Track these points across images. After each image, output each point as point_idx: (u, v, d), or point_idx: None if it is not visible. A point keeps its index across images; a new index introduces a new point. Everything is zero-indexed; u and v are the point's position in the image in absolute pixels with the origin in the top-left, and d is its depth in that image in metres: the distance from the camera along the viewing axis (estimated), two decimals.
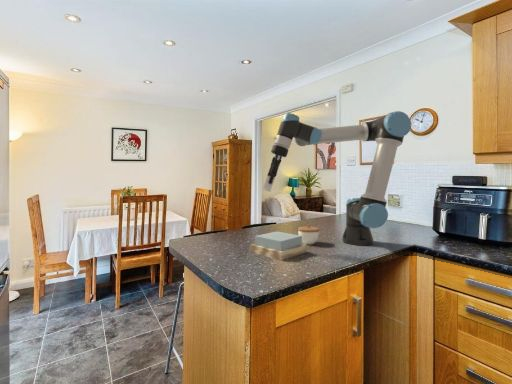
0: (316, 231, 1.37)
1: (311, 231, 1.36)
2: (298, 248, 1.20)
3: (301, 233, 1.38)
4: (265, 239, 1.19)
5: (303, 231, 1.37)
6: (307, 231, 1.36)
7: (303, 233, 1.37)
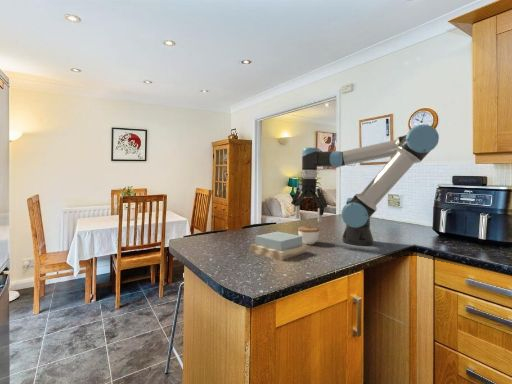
0: (316, 231, 1.37)
1: (311, 231, 1.36)
2: (298, 248, 1.20)
3: (301, 233, 1.38)
4: (265, 239, 1.20)
5: (303, 231, 1.37)
6: (307, 231, 1.36)
7: (303, 233, 1.37)
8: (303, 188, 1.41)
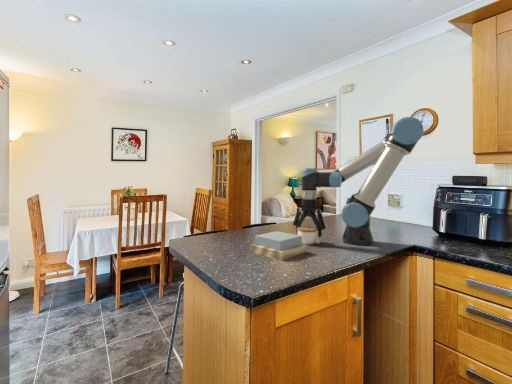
0: None
1: (311, 231, 1.36)
2: (298, 248, 1.20)
3: (301, 233, 1.38)
4: (264, 239, 1.20)
5: (303, 231, 1.37)
6: (307, 231, 1.36)
7: (303, 233, 1.37)
8: (303, 208, 1.41)
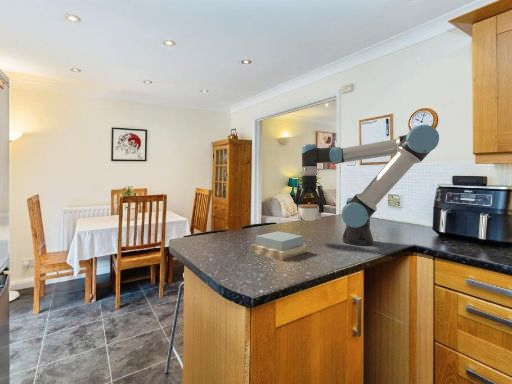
0: None
1: (312, 207, 1.35)
2: (298, 248, 1.20)
3: (302, 210, 1.37)
4: (266, 239, 1.20)
5: (304, 207, 1.36)
6: (308, 207, 1.35)
7: (304, 209, 1.36)
8: (303, 185, 1.41)
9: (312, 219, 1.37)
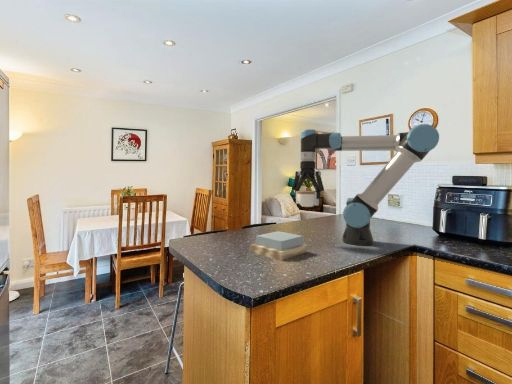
0: None
1: (309, 193, 1.34)
2: (298, 248, 1.20)
3: (299, 195, 1.36)
4: (266, 239, 1.20)
5: (301, 193, 1.35)
6: (305, 193, 1.34)
7: (302, 195, 1.35)
8: (302, 171, 1.40)
9: (309, 205, 1.36)
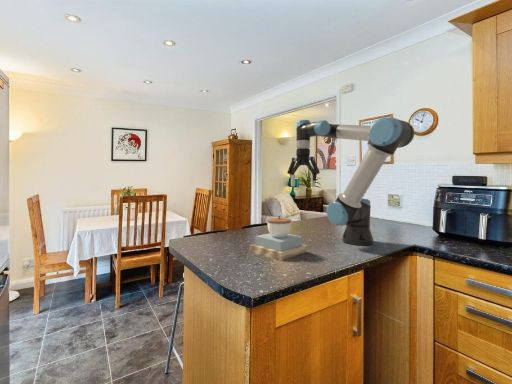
0: (287, 222, 1.19)
1: (281, 222, 1.18)
2: (298, 249, 1.20)
3: (270, 225, 1.20)
4: (265, 240, 1.19)
5: (272, 222, 1.19)
6: (276, 222, 1.18)
7: (272, 225, 1.19)
8: (298, 158, 1.55)
9: (281, 236, 1.20)
